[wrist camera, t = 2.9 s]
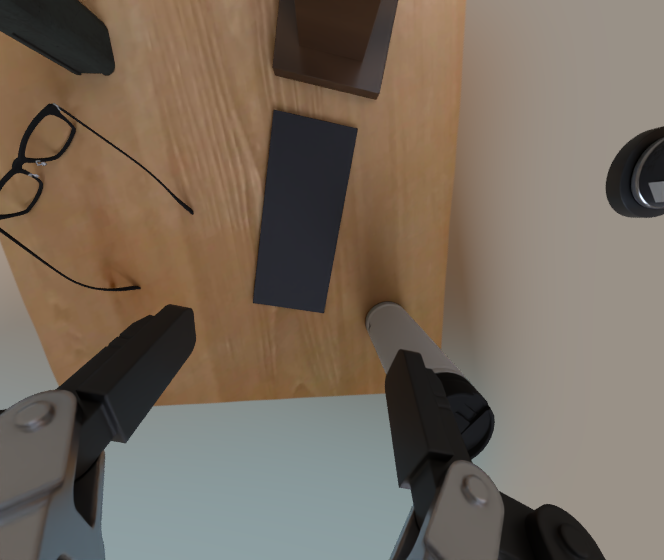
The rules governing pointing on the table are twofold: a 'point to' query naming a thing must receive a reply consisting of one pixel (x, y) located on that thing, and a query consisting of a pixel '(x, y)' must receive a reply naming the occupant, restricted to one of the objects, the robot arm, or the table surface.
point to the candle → (60, 33)
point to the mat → (302, 210)
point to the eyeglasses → (17, 168)
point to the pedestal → (334, 43)
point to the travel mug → (466, 402)
